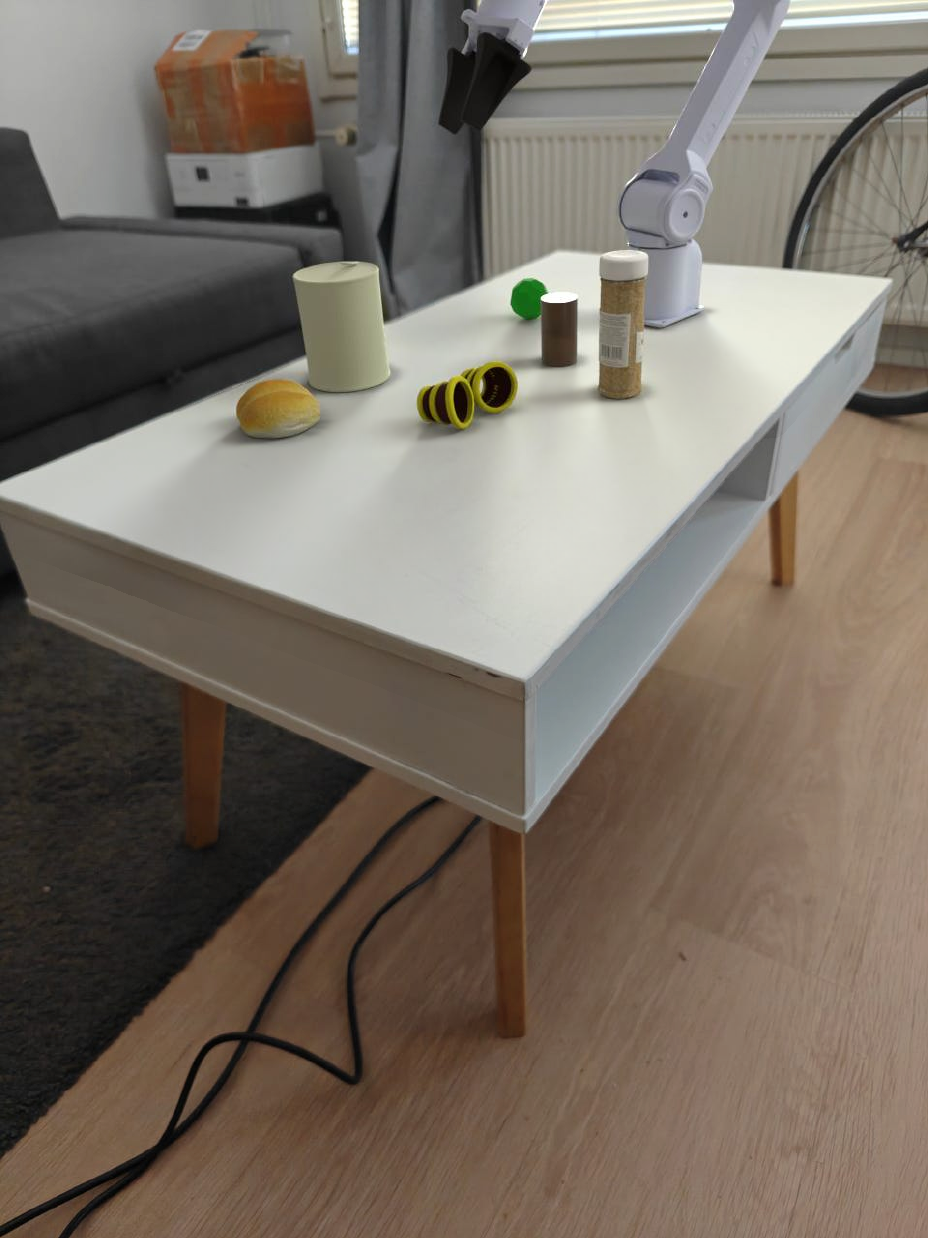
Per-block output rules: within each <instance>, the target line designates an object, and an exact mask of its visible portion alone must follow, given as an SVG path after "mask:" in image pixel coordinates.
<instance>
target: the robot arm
mask: <svg viewBox="0 0 928 1238" xmlns="http://www.w3.org/2000/svg"><path fill="white" fill-rule="evenodd" d="M730 1H731V3H732V7H733V8H732V10H733V11H732V13H731V14H730V17H729V19H728V21H727V23H726V25H725V27H724V29H723V31H722V33H721V34H720V37H719V39H718V41H717V42H716V44H715V47H714V48H713V51H712V52H711V55H710V57H709V58H708V60H707V63H706V64H705V65H704V69H703V70H702V73H701V74H700V76H699V78H698V80H697V82H696V84H695V86H694V88H693V90H692V92H691V94H690V96H689V98H688V100H687V101H686V104H685V106H684V108H683V109H682V112H681V113H680V115H679V117H678V120H677V121H676V124H675V125H674V127H673V130H672V131H671V133H670V135H669V137H668V139H667V141H666V143H665V144H664V146H663V148H661V149H660V150H659V151H658V152H656V153H655V154H653V155H651V156H650V157H649V158H647V159H645V161H644V162H642V164H641V165H640V167H639V170H638V171H637V173H636V174H635V175H634V177H633V178H632V179H630V180H629V181H628V182H627V183H626V184H625V185H624V186H623V188H622V189H621V191H620V193H619V195H618V198H617V202H616V209H615V210H616V218H617V221H618V223H619V226H620V227H621V228H622V229H623V230H624V231H625V237H624V239H625V240H626V241H627V250H634V251H641V252H644V253H646V254H647V255H648V274H647V275H646V281H645V296H644V326H645V325H646V326H648V327H649V326H650V327H656V328H665V327H668V326H669V325H672V324H674V323H676V322H680V321H682V320H684V319H686V318H689V317H692V316H693V315H696V314H698V313H700V312H703V311H705V306H704V305H700V294H701V282H702V269H703V253H702V250H701V248H700V245H699V244H698V242H697V241H696V240H695V239H694V238H693V237H695V235H697V233H698V232H699V230H700V229H701V226H702V224H703V222H704V218H705V213H706V207H707V204H708V200H709V198H710V196H711V194H712V192H713V190H714V185H713V183H712V180H711V177H710V175H709V173H708V170H707V168H708V166H709V164H710V162H711V160H712V158H713V156H714V154H715V152H716V151H717V148H718V147H719V144H720V143H721V141H722V139H723V137H724V135H725V133H726V131H727V129H728V127H729V125H730V124H731V122H732V119H733V118H734V116H735V114H736V112H737V110H738V108H739V106H740V104H741V103H742V101H743V99H744V97H745V95H746V93H747V91H748V89H749V87H750V85H751V84H752V82H753V79H754V78H755V76H756V74H757V73H758V71H759V68H760V66H761V64H762V62H763V60H764V58H765V57H766V55H767V54H768V51H769V49H770V48H771V45H772V44H773V41H774V40H775V38H776V36H777V34H778V32H779V30H780V28H781V26H782V24H783V22H784V20H785V18H786V17H787V14H788V11H789V8H790V3H791V0H730ZM547 2H548V0H481V1H480V4H479V6H478V8H477V11H476V12H475V11H473V10H472V9H470V8H467V9H465V10H463V12H462V13H461V16H460V19H461V21H462V22H464V23H465V24H466V25H467V26H468V37H467V38H466V39H467V40H466V42H465V44H464V46H463V49H462V51H460V50H459V49H457V48H456V47H454V46H453V47H450V48H448V50H447V53H446V64H447V68H446V69H447V71H446V72H447V73H446V83H445V89H444V93H443V98H442V103H441V106H440V112H439V117H438V125H439V126H440V127H442V128H443V129H445V130H447V131H448V132H449V133H451V134H452V135H457V134H458V133H459V132H460V130H461V129H462V128H463V126H464V125H465V124H466V125H467V126H469V127H470V128H472V129H473V130H475V131H477V132H481V131H482V130H483V128H484V127H485V125H486V124H487V123H488V122H489V120H490V119H491V118H492V116H493V114H494V113H495V112H496V110H497V109H498V108H499V106H500V104H501V103H502V102H503V100H504V99H505V98H506V97H507V95H508V94H509V93H510V92H511V91H512V89H514V87H516V86H517V85H518V84H519V83H520V82H521V81H522V80H523V79H524V78H525V77H527V76H528V75H529V74H530V73H531V72H532V66H531V65H530V64H529V63H528V62H526V60H524V58H525V56H526V53H527V51H528V47H529V46H530V44H531V41H532V39H533V37H534V34H535V32H536V26H537V24H538V22H539V20H540V17H541V15H542V13H543V11H544V8H545V7H546V5H547Z"/></svg>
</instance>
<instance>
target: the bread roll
mask: <svg viewBox="0 0 928 1238" xmlns="http://www.w3.org/2000/svg"><path fill="white" fill-rule="evenodd" d="M235 415H236V418H237V420H238V421H239V425H240V428H241V430H242V432H244V433H245V434H246V435H248V436H249V437H251V438H256V439H282V438H289V437H293V436H296V435H299V434H301V433H304V432H306V431H307V430H309V429H311V428H312V427H314V426H315V425H316V424H318V422H319V421H320V419H321V416H322V406H321V403H320V402H319V401H318V400H317V399H316V397H315V396H314V395H313V394H312V393H311V392H310V390H308V389H307V388H306V387H304V386H303V385H301V384H300V383H298V382H295V381H293V380H288V379H284V378H283V379H282V378H280V379H279V378H275V379H267V380H262V381H259V382H257V383H255V384H254V385H252V386H250V387H249V388H248V389H247V390H246V391H245V392H244V393H243V394H242V396H240V398H239V399H238V401H237V403H236V406H235Z"/></svg>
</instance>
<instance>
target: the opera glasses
mask: <svg viewBox="0 0 928 1238" xmlns="http://www.w3.org/2000/svg"><path fill="white" fill-rule="evenodd" d="M481 381H482V389H480V387H481V385H480V384H481ZM518 383H519V382H518V379H517V376H516V373H515V371H514V370H513V369H512V367H511V366H509V365H508V364H507V363H505V362H503V361H499V360H491V361H488V362H486V363H484V364H483V365H479V366H477V367H469V368H466V369H465V370H463V371H462V373H461V374H460V375H454V376H452V377H451V378H450V379H449V380H448V381H447V380H444V381H441V382H438V383H436V384H433V385H425V386H423V387H422V388H420V390H419V392H418V394H417V396H416V397H417V398H416V409H417V412H418V414H419V417H420V418H421V419H422V420H423V421H425V422H426V423H438V424H440V425H445V426H449V425H453V427H454V428H455V429H457V430H465V429H467V428H468V427H469V426H470V425H471V423H472V421H473V418H474V413H475V406H477V407H479V408H480V409H481V410H482V411H484V412H486V413H490V414H498V413H502V412H504V411H505V410H507V409H508V408H509V407H510V406H512V404H513V402H514V401H515V399H516V396H517V393H518V385H519V384H518ZM480 390H481V391H480Z"/></svg>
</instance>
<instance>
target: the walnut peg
mask: <svg viewBox="0 0 928 1238" xmlns="http://www.w3.org/2000/svg"><path fill="white" fill-rule="evenodd" d="M578 302H579V297H578V295H577V294H575V293H572V292H571V293H570V292H551V293H549V294H547V295H544V296H542V297H541V315H540V335H541V337H540V340H541V341H540V342H541V344H540V345H541V363H542V364H543V365H544V366H548V367H554V368H561V367H569V366H572V365H575V364H576V363H577V362H578V320H579V319H578V318H579V317H578V314H579V313H578V311H579V307H578V306H579V305H578V304H579V303H578Z"/></svg>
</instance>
